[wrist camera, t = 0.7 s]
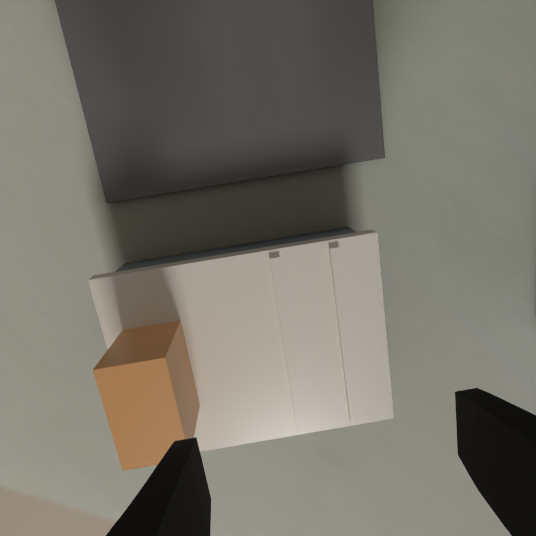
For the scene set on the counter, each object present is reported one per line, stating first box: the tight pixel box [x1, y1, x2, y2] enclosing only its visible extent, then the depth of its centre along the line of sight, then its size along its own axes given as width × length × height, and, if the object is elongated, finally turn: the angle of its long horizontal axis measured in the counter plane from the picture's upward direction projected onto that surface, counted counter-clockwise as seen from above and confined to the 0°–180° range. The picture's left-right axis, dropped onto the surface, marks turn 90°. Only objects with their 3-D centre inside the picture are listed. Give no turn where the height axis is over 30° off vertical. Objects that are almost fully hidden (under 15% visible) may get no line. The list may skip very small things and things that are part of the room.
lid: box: [88, 230, 394, 470], centre depth 16 cm, size 12×9×5 cm
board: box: [55, 0, 385, 203], centre depth 18 cm, size 13×9×1 cm
